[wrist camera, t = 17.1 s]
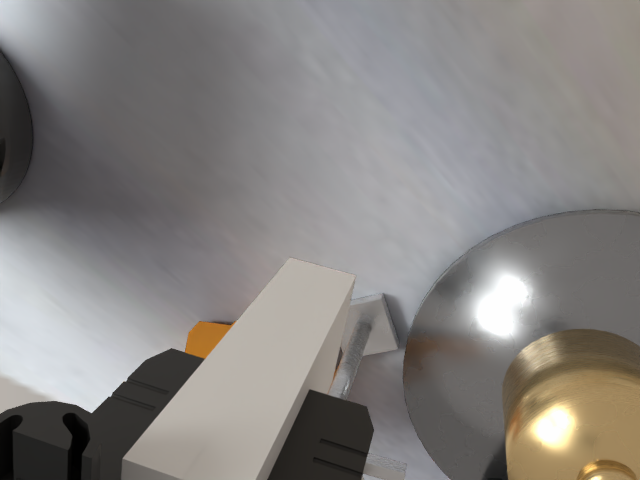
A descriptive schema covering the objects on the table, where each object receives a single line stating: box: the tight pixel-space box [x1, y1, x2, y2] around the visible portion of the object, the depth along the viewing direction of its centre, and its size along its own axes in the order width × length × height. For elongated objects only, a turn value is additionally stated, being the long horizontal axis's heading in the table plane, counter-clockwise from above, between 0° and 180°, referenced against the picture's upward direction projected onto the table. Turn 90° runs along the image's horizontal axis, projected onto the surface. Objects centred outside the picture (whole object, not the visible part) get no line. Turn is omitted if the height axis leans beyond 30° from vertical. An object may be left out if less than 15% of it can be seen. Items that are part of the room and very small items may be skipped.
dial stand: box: [327, 293, 407, 480], centre depth 34 cm, size 7×4×18 cm, turn 108°
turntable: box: [403, 209, 640, 480], centre depth 33 cm, size 24×24×13 cm
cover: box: [502, 329, 640, 480], centre depth 34 cm, size 10×10×9 cm
